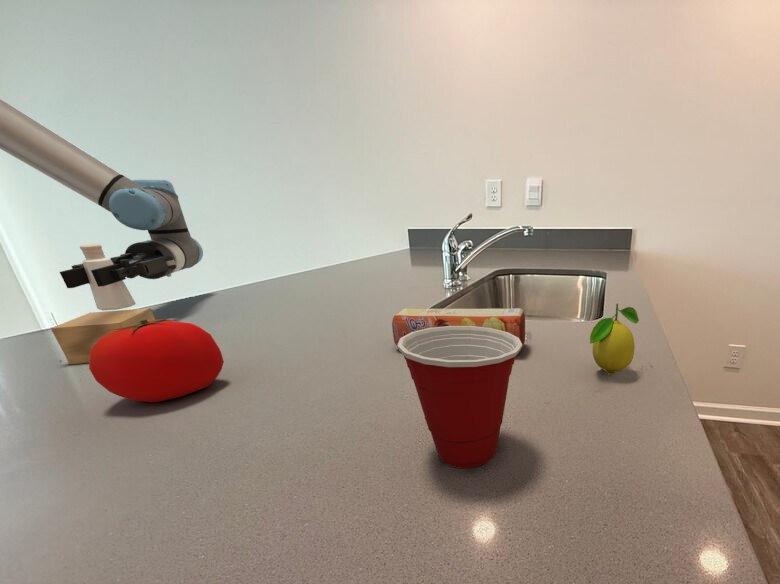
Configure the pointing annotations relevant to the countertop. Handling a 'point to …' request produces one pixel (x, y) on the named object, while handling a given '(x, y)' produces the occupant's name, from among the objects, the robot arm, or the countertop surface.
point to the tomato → (156, 360)
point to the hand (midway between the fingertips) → (82, 279)
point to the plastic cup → (462, 387)
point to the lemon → (614, 341)
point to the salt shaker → (110, 294)
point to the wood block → (94, 331)
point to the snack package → (459, 320)
